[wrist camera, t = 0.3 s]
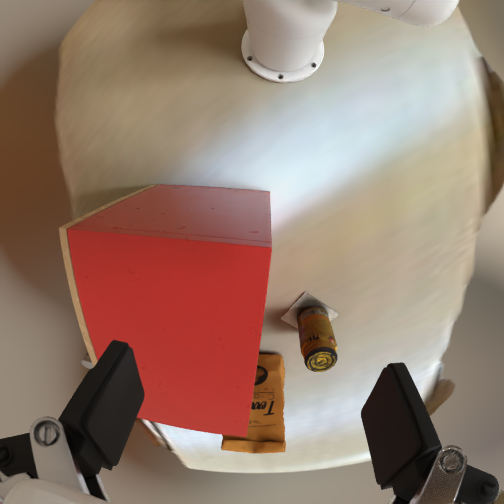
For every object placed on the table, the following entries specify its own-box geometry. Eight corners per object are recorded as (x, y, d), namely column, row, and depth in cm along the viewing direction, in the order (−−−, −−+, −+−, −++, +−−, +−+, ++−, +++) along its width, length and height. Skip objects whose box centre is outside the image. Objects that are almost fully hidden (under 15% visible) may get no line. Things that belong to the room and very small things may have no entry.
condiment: (313, 337, 53) (321, 381, 42) (280, 318, 51) (282, 362, 40) (338, 313, 50) (353, 355, 39) (305, 291, 49) (314, 332, 38)
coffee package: (226, 345, 55) (209, 435, 34) (287, 349, 54) (292, 440, 34) (227, 376, 58) (213, 459, 38) (281, 380, 58) (283, 464, 38)
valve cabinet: (165, 317, 53) (118, 412, 30) (159, 184, 43) (66, 229, 21) (255, 329, 53) (246, 437, 30) (269, 191, 43) (272, 247, 20)
